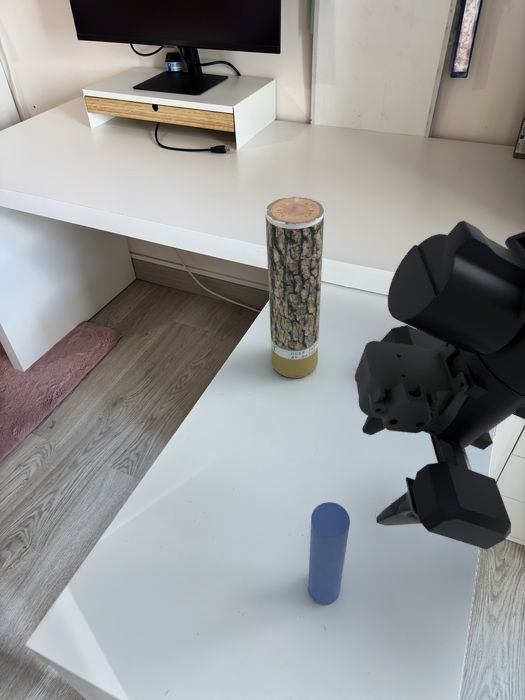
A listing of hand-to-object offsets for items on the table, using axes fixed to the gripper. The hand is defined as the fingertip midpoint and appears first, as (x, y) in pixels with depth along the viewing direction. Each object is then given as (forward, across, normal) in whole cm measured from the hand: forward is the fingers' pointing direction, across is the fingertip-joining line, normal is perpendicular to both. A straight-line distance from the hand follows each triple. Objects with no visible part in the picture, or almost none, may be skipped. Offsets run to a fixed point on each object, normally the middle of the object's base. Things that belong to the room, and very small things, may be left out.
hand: (372, 474), depth 45 cm
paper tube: (+16, -28, +2) cm, 32 cm away
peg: (+14, +4, +4) cm, 15 cm away
